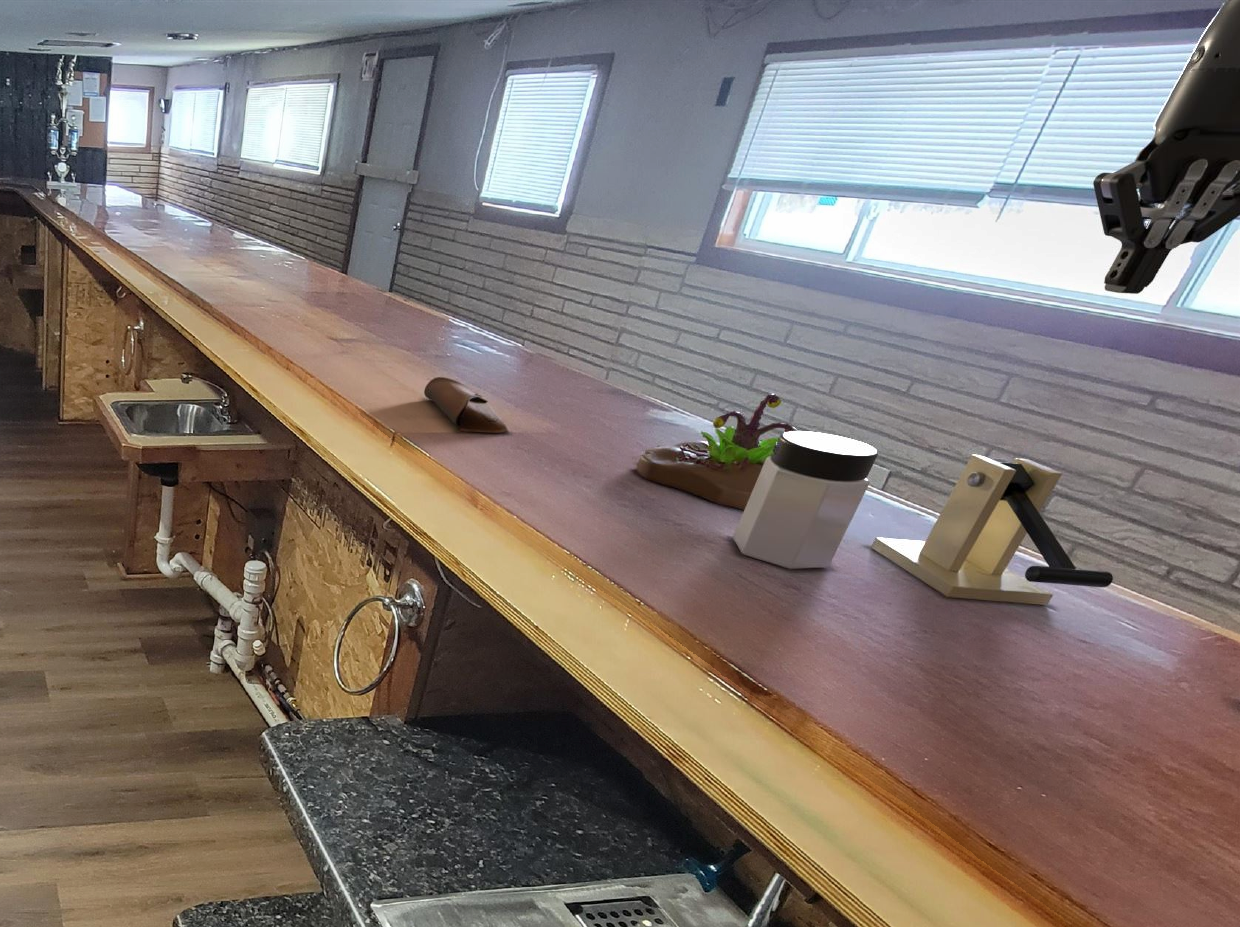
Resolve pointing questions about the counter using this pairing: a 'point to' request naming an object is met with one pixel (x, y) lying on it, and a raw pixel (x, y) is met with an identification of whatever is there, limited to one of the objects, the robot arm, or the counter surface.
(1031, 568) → the lever
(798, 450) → the jar
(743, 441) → the plant
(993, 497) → the bracket
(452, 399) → the sunglasses case
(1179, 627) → the counter surface
